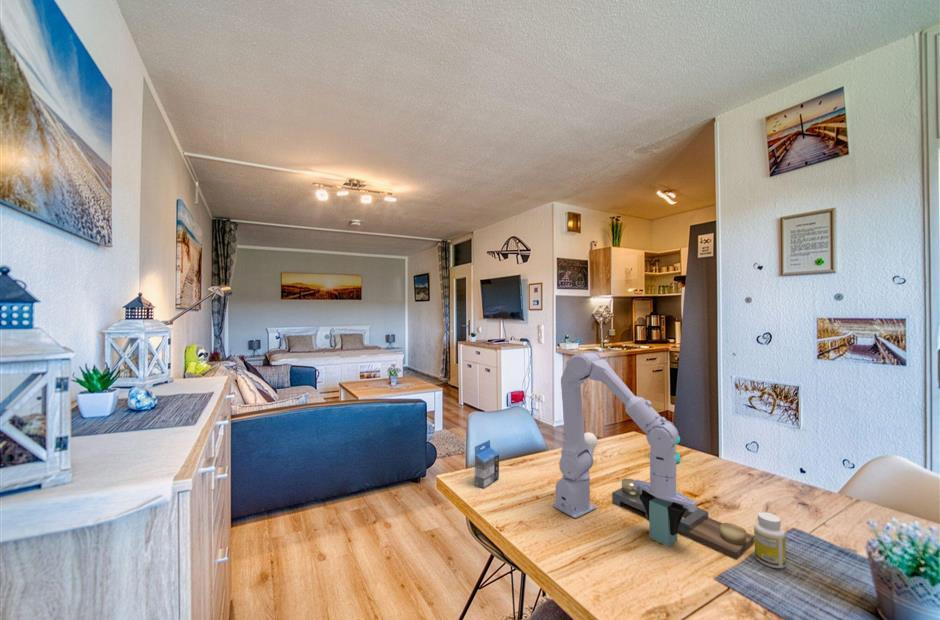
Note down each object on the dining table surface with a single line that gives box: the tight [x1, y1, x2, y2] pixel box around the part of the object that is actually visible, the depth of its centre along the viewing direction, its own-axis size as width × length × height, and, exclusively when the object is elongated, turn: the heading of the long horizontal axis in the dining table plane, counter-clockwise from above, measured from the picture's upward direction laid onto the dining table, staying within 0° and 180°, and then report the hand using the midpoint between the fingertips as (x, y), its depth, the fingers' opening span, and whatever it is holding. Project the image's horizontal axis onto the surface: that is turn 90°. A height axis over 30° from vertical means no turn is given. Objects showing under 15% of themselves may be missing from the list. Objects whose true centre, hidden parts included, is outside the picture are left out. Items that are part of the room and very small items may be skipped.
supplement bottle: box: [753, 511, 787, 569], centre depth 83 cm, size 5×5×10 cm
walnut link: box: [645, 512, 755, 560], centre depth 95 cm, size 11×21×4 cm, turn 36°
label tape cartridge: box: [474, 439, 500, 489], centre depth 121 cm, size 9×4×12 cm, turn 143°
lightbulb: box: [584, 431, 599, 458], centre depth 138 cm, size 6×6×11 cm
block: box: [648, 497, 678, 547], centre depth 91 cm, size 4×4×9 cm
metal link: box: [611, 478, 709, 532], centre depth 103 cm, size 11×21×5 cm, turn 36°
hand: (663, 528), depth 91 cm, fingers closed on block, 4 cm apart
